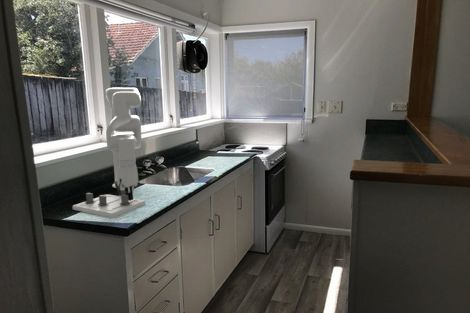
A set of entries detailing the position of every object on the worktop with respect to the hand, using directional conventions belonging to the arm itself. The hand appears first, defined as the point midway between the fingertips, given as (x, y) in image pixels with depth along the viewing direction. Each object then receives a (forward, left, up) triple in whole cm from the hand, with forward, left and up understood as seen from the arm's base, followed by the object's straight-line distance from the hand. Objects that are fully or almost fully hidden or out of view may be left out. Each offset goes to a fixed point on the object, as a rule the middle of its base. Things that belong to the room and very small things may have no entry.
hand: (129, 199), depth 180 cm
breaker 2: (+8, -9, -1) cm, 12 cm away
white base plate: (+4, -9, -4) cm, 11 cm away
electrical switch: (-14, -18, -4) cm, 23 cm away
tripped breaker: (+3, 0, -1) cm, 3 cm away
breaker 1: (+8, -18, -1) cm, 20 cm away
